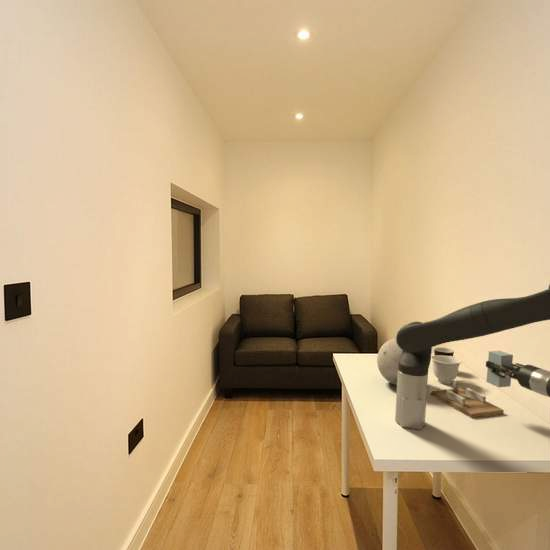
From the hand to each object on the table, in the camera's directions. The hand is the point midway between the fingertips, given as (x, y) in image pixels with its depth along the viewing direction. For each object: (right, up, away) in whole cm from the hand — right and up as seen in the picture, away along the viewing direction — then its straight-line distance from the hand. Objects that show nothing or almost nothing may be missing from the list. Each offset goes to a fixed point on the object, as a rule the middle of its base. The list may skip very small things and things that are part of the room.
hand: (493, 363), depth 126 cm
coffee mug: (+4, -15, +46) cm, 49 cm away
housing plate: (-6, -17, +7) cm, 19 cm away
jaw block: (0, -7, -2) cm, 7 cm away
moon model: (-24, -15, +25) cm, 38 cm away
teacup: (-2, -16, +31) cm, 35 cm away
